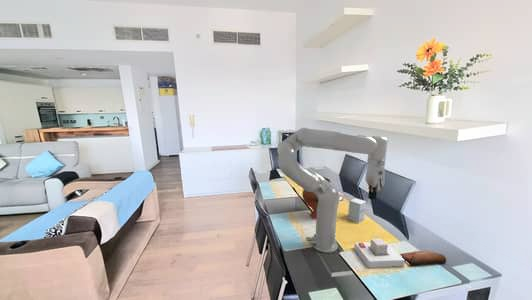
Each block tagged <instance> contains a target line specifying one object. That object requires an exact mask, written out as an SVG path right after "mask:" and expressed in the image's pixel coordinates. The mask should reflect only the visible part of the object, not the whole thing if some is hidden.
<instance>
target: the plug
mask: <svg viewBox="0 0 532 300" xmlns="http://www.w3.org/2000/svg"><path fill="white" fill-rule="evenodd" d="M370 242H371V246H370V251H371V252H372V253H373V254H374V255H375V256H387V247H388V245H389V244H388V242H387V241H384V240H383V238H382V237H381V238H370Z"/></svg>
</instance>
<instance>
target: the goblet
mask: <svg viewBox="0 0 532 300" xmlns="http://www.w3.org/2000/svg"><path fill="white" fill-rule="evenodd" d="M322 177H323V178H324V179H326V180H327V181H328V182H329V183H330V184H331V180H330V179H329V178H327V177H325V176H322ZM302 189H303V188H302ZM302 198H303V202H304V203H305V204H306V205H307V206H308V207H310V208H311V209H312V212H311V213H310V214H309V217H310V218H312V219H313V220H316V217H317V206H318V197H317V196H316V194H314V193H313V192H308V191H306V190H304V189H303V190H302Z"/></svg>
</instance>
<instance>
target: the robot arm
mask: <svg viewBox="0 0 532 300" xmlns="http://www.w3.org/2000/svg"><path fill="white" fill-rule="evenodd" d="M303 147H305V148H314V149H323V150H332V151H338V152H339V151H340V152H346V153H353V154H361V155H362V154H364V155H367V161H366V164H367V166H366V172H365V182H366V184H367V185H368V195H367V198H368V199H369V200H377V195H378V194H377V193H378V192H379V191H381V188H384V187H385V183H386V181H385V177H386V168H385V165H386V155H387V147H388V138H387V137H386V136H383V135H380V136H379V135H373V136H370V135H363V134H357V135H352V134H347V133H346V134H345V133H342V132H339V131H333V130H325V129H324V130H321V129H315V128H314V129H313V128H308V127H301V128H299V129H298V130H296V131H295V132H294V133H292V134H291V135H290V136H288V137H286V138H285V139H284V140H283V141H281V142H280V143H279V144H278V146H277V151H276V152H277V154H278V160H277V163H278V167H279V170H280V171H281V173H283V175H284V176H286V177H287V178H288V179H290V180H291V181H292V182H293V183H295V184H296V185H297V186H298V187H300V188H301V189H304V190H306V191H308V192H313V193H314V194H316V196H317V197H318V206H317V217H316V219H315V233H314V234H313V236H307V237H305V241H306V242H309V244H311V245H312V247H313V248H314V249H315V250H317V251H319V252H321V253H324V254H325V253H326V254H327V253H328V254H329V253H334V252H336V251H337V250H338V246H339V245H338V243H337V241H336V231H337V229H336V227H337V215H338V207H339V203H340V194H339V192H338V190H337V188H336V187H335V186H334V185H333V184H331V182H330V183H329V182H328V181H327V180H326V179H324V178H323V177H324V176H321V175H320V174H318V173H317V172H316V171H314V169H313V170H312V169H311V168H306V167H305V166H304V165H302V164H301V163H299V162H298V160H297V154H298V151H299V150H301V149H302V148H303Z"/></svg>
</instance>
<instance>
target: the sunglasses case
mask: <svg viewBox="0 0 532 300" xmlns="http://www.w3.org/2000/svg"><path fill="white" fill-rule="evenodd" d="M399 254H400V255H401V256H402V258H403V259H404V260H405V261H407V262H408V263H409V264H410V265H409V264H408V265H409V267H413V265H414V266H418V265H419V266H420V265H426V264H427V265H428V263H429V264H437V263H438V264H439V263H446V262H447V258H446V256H445V255H444V254H442V253H438V252H434V251H424V250H415V251H413V252H412V251H411V252H404V253H399Z"/></svg>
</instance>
